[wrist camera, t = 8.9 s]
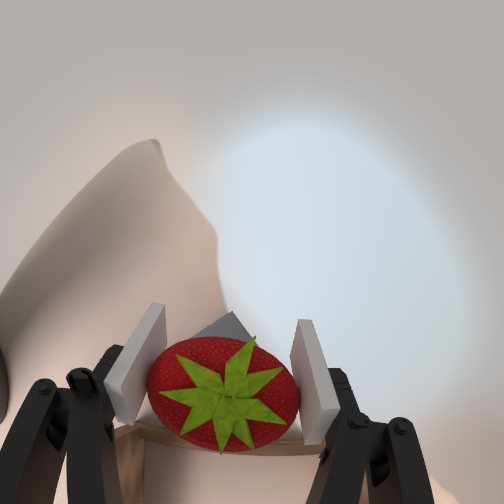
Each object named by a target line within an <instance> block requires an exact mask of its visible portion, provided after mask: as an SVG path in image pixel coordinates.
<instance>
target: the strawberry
mask: <svg viewBox="0 0 504 504" xmlns="http://www.w3.org/2000/svg"><path fill="white" fill-rule="evenodd" d="M255 339H256V336H254V337H253V338H252V339H251V340H250V341H249V342H245V341H241V340H238V339H233V338H227V337H218V336H204V337H197V338H191V339H187V340H184V341H181V342H178V343H176V344H174V345H172V346H171V347H169V348H167V349H166V350H165V351H163V352H162V353H161V354H160V355H159V356H158V357H157V358H156V360H155V361H154V362H153V364H152V366H151V368H150V371H149V373H148V378H147V393H148V398H149V401H150V404H151V406H152V409H153V410H154V412H155V413H156V415H157V416H158V418H159V419H160V421H161V422H162V423H163V424H164V425H165V426H166V427H167V428H168V429H169V430H170V431H172V432H173V433H175V434H176V435H177V436H179V437H180V438H182V439H184V440H186V441H188V442H190V443H192V444H194V445H196V446H199V447H202V448H206V449H209V450H215V451H220V455H221V454H222V452H242V451H248V450H254V449H257V448H260V447H263V446H265V445H268V444H270V443H271V442H273V441H275V440H276V439H278V438H280V437H281V436H282V435H283V434H284V433H285V432H286V431H287V430H288V429H289V428H290V426H291V425H292V423H293V422H294V420H295V418H296V415H297V412H298V409H299V393H298V388H297V385H296V383H295V381H294V379H293V376H292V375H291V374H290V373H289V371H288V370H287V368H286V367H285V366H284V365H283V364H282V363H281V362H280V361H279V360H278V359H277V358H275V357H274V356H273V355H271V354H270V353H268V352H266V351H265V350H263V349H261V348H259V347H257V346H255V345H254V343H255Z"/></svg>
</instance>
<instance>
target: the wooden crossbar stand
mask: <svg viewBox="0 0 504 504" xmlns="http://www.w3.org/2000/svg"><path fill="white" fill-rule="evenodd" d="M114 435H115V447H116V457H117V466H118V473H119V480H120V487H121V493H122V498H123V503H124V504H144V496H143V481H144V447H145V440H149V441H153V442H157V443H162V444H166V445H171V446H177V447H182V448H188V449H194V450H201V451H208V452H217V453H220V451H215V450H209V449H206V448H202V447H199V446H196V445H194V444H192V443H190V442H188V441H186V440H184V439H182V438H180V437H179V436H177V435H176V434H175V433H173V432H172V431H170V430H169V429H166V428H161V427H157V426H152V425H148V424H144V423H140V422H136V421H135V422H134V425H133V426H131V425H128V424H127V425H124V426H121V427H119V428H116V429H114ZM325 447H326V442H325V439H324V440H323V441H322V443H321V444H317V445H304V440H275V441H273V442H271V443H270V444H268V445H265V446H263V447H260V448H257V449H254V450H248V451H242V452H222V453H227V454H239V455H258V456H296V455H315V454H321V453H322V451H323V450H324V448H325ZM359 504H369V498H368V488H367V478H366V469H365V475H364V480H363V486H362V491H361V495H360V500H359Z"/></svg>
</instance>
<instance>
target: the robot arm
mask: <svg viewBox="0 0 504 504" xmlns="http://www.w3.org/2000/svg"><path fill="white" fill-rule="evenodd" d="M166 344H167V335H166V318H165V305H162V304H155V303H152V304H151V306H150V307H149V309H148V311H147V312H146V314H145V315H144V317H143V318H142V320H141V321H140V323H139V324H138V326H137V328H136V329H135V331H134V332H133V334H132V335H131V337H130V339H129V340H128V342H127V343H126V345H125V347H124V346H120V345H116V344H114V345H113V346H112V347H110V348H109V349H107V351H106V352H105V353H104V355H103V357H102V358H101V359H100V361H99V363H98V364H97V365H96V367H95V369H94V370H93V372H92V371H91V370H89V369H87V368H76V369H73V370H71V371H70V372H69V373H68V374H67V376H66V380H67V382H68V384H69V387H70V389H69V388H57V386H56V384H55V383H54V382H53V381H52V380H50V379H46V378H44V379H39V380H38V381H36V382H35V383H34V384H33V385H32V387H31V389H30V391H29V393H28V394H27V396H26V398H25V400H24V402H23V404H22V406H21V408H20V409H19V411H18V413H17V415H16V417H15V419H14V421H13V424H12V426H11V428H10V430H9V432H8V434H7V436H6V439H5V441H4V443H3V446H2V448H1V450H0V504H53V502H54V497H55V493H56V488H57V484H58V480H59V476H60V473H61V469H62V465H63V462H64V458H65V455H66V452H67V462H66V468H67V495H68V504H124V503H123V498H122V493H121V487H120V480H119V473H118V466H117V457H116V447H115V435H114V425H113V422H112V421H113V418H114V416H116V418H117V421H118V422H121V423H124V424H128V425H131V426H133V425H134V422H135V420H136V417H137V415H138V412H139V410H140V407H141V405H142V402H143V400H144V397H145V395H146V392H147V378H148V373H149V371H150V368H151V366H152V364H153V362H154V361H155V360H156V358H157V357H158V356H159V355H160V354H161V353H162V352H163V351H164V349H165V347H166ZM290 360H291V366H292V371H293V378H294V381H295V383H296V385H297V388H298V393H299V413H300V420H301V427H302V433H303V439H304V445H317V444H321V443H322V441H323V440H324V438H325V442H326V447H325V448H324V450H323V451H322V453H321V454H320V456H319V458H321V460H320V463H319V466H318V469H317V473H316V476H315V479H314V482H313V485H312V487H311V490H310V493H309V496H308V499H307V501H306V504H359V500H360V495H361V491H362V486H363V480H364V475H365V469H366V478H367V488H368V498H369V504H434V499H433V494H432V490H431V485H430V481H429V477H428V473H427V469H426V466H425V462H424V458H423V455H422V451H421V448H420V444H419V441H418V438H417V434H416V431H415V428H414V426H413V424H412V423H411V422H410V421H409V420H408V419H406V418H403V417H396V418H394V419H392V420H391V421H390V422H389V423H388V424H386V423H379V422H373V421H371V420H370V419H369V417H368V416H367V415H365V414H364V413H361V412H360V410H359V407H358V405H357V402H356V399H355V397H354V394H353V391H352V390H351V386H350V384H349V381H348V378H347V376H346V374H345V373H344V372H343V371H342V370H341V369H340V368H327V364H326V361H325V358H324V356H323V352H322V349H321V346H320V344H319V340H318V338H317V335H316V332H315V329H314V326H313V323H312V320H302V319H299V320H298V324H297V328H296V332H295V337H294V341H293V346H292V350H291V354H290ZM7 402H8V382H7V374H6V368H5V364H4V360H3V356H2V353H1V350H0V423H1V422H2V420H3V418H4V416H5V413H6V409H7Z"/></svg>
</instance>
